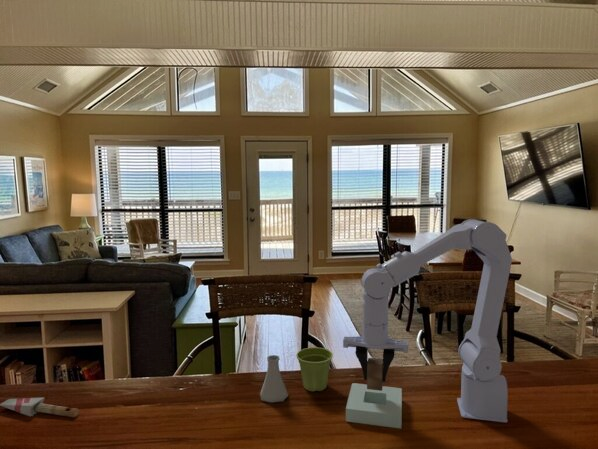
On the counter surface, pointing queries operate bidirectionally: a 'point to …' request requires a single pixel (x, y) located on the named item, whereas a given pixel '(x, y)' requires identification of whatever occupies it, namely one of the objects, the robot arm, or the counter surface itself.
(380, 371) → the walnut peg
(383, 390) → the socket block
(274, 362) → the flask
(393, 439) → the counter surface
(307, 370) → the plant pot
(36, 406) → the grey and wooden tool
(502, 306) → the robot arm
